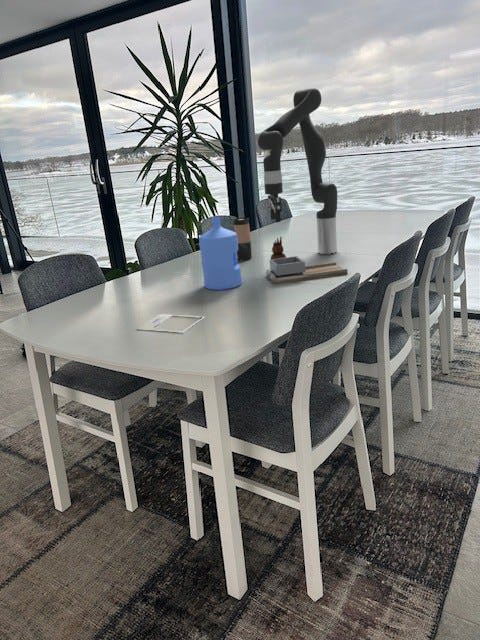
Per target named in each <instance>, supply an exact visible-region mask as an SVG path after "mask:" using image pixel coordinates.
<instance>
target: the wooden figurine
mask: <svg viewBox="0 0 480 640" xmlns="http://www.w3.org/2000/svg"><path fill="white" fill-rule="evenodd" d="M282 242H283V241H282V236H280V238H279V237H277V238H276V239H275V241H274V242H273V244H272V247H271V251H272V254H271V256H270V259H278V258H286V257H287V256H286V254H285V253H284V246H283V243H282Z"/></svg>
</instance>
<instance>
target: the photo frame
mask: <svg viewBox="0 0 480 640" xmlns="http://www.w3.org/2000/svg"><path fill="white" fill-rule="evenodd" d="M158 316H159V317H158ZM172 316H178V317H177V318H185V317H195V318H194V319H198V320H196V321H195V322H194V323H192V324H191V325H190V326H188V327H187V328H185V329H184V330H181V331H180V330H170V329H160V330H161V331H169V332H178V333H177V334H181V333H184V332H185V333H186V331H187V330H188V329H189V330H190V328H191V327H192V326H193V325H195V324H196V323H198V322H199V321H201V320H202V319H204V318H205V317H206V316H198V315H185V314H183V315H182V314H168V313H160V314H158V315H157V317H158V318H157V317H156V316H155V317H156V318H157V319H154V318H155V317H153V318H152V319H154V320H153V321H152V319H150V320H151V321H152V322H150V323H148V324H147V325H154V324H156V323H157V322H159V321H160V322H163V321H165V320H167V319H168V318H170V317H172ZM201 317H202V318H201ZM172 318H173V317H172ZM200 318H201V319H200ZM170 319H171V318H170ZM205 319H206V318H205ZM205 319H204V320H205ZM168 320H169V319H168ZM168 320H167V321H168ZM202 321H203V320H202ZM202 321H201V322H202ZM165 322H166V321H165ZM199 323H200V322H199ZM199 323H198V324H199ZM195 326H196V325H195ZM192 328H193V327H192ZM192 328H191V329H192ZM189 330H188V331H189ZM188 331H187V332H188ZM169 332H168V333H169ZM185 333H184V334H185Z"/></svg>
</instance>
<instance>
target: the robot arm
mask: <svg viewBox="0 0 480 640" xmlns="http://www.w3.org/2000/svg"><path fill="white" fill-rule="evenodd" d="M292 103H293V108H292V109H290V110H288V111H287V112H285V113H283V114H282V115H281V116H280V117H279V118H278V120H276V121H275V123H274V124H272V125H270V126H269V127H267V128H266V129H264V130H263V131H262V132H261V133H260V134H259V135H258V138H257V145H258V147H259V149H260V150H262V151H263V150H264V151H270V152H269V155H268V156H265V157H264V158H263V162H262V163H263V182H264V183H263V184H264V194H265V195H267V202H268V204H267V205H268V210H269V212H270V220H273V221H274V220H275V221H274V222H275V223H281V218H282V217H281V213H282V212H283V210H282V198H281V196H279V194H282V193H283V192H284V191H283V176H282V175H283V174H282V171H281V170H282V169H281V166H282V165H281V157H282V153H283V147H284V138H286V137H287V136H288V135H289V134H290V133H291V132H292V131H293V129H294V128H295V127H297V125H299V128H300V132H301V137H302V142H303V149H304V153H305V157H306V162H307V167H308V173H309V181H310V191H311V197H312V199H313V201H314V202H315V203H317V204H323V208H322V209H321V210H318V211H316V214H315V215H316V232H317V233H316V234H317V252H318V254H319V253H320V254H321V255H332V254H331V253H333V254H336V253H337V252H338V242H337V241H338V240H337V238H338V236H337V211H338V188H337V186H336V185H335V184H334V183H332V182H323V176H322V170H323V166H324V163H325V160H326V158H327V149H326V144H325V139H324V137H323V136H322V134H321V133H320V131H319V130H318V129H317V127H316V126H315V125H314V124H313V122H312V119H311V116H310V114H312V113H313V112H315V111H316V110H317V109H319V107H320V106H321V104H322V95H321V92H320V89H318V88H315V87H308V88H305V89H303V88H302V89H299V90H296V91H295V92H294V94H293V102H292ZM335 252H336V253H335Z"/></svg>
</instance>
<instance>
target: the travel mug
mask: <svg viewBox="0 0 480 640" xmlns="http://www.w3.org/2000/svg"><path fill="white" fill-rule="evenodd" d="M250 228H251V227H250V219H249V217H237V218H234V219H233V229H234V231H233V232H235V233H237V238H238V251H237V252H236V255H237V261H248V260H252V240H251V233H250V232H251V229H250Z"/></svg>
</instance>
